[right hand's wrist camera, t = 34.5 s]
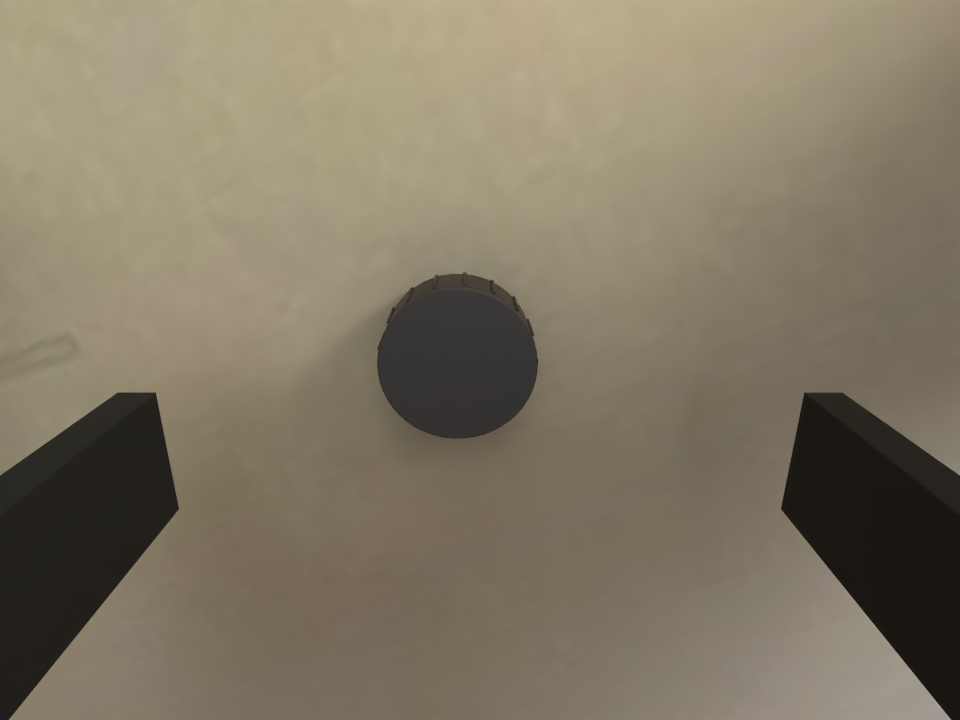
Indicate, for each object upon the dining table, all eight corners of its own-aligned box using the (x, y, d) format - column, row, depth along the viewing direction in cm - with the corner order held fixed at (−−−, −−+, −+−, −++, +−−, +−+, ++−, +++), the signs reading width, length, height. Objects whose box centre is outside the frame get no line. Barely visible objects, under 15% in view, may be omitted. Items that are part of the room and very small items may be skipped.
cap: (555, 375, 19) (565, 400, 17) (427, 434, 20) (424, 464, 18) (493, 245, 18) (496, 258, 16) (356, 313, 18) (344, 333, 17)
